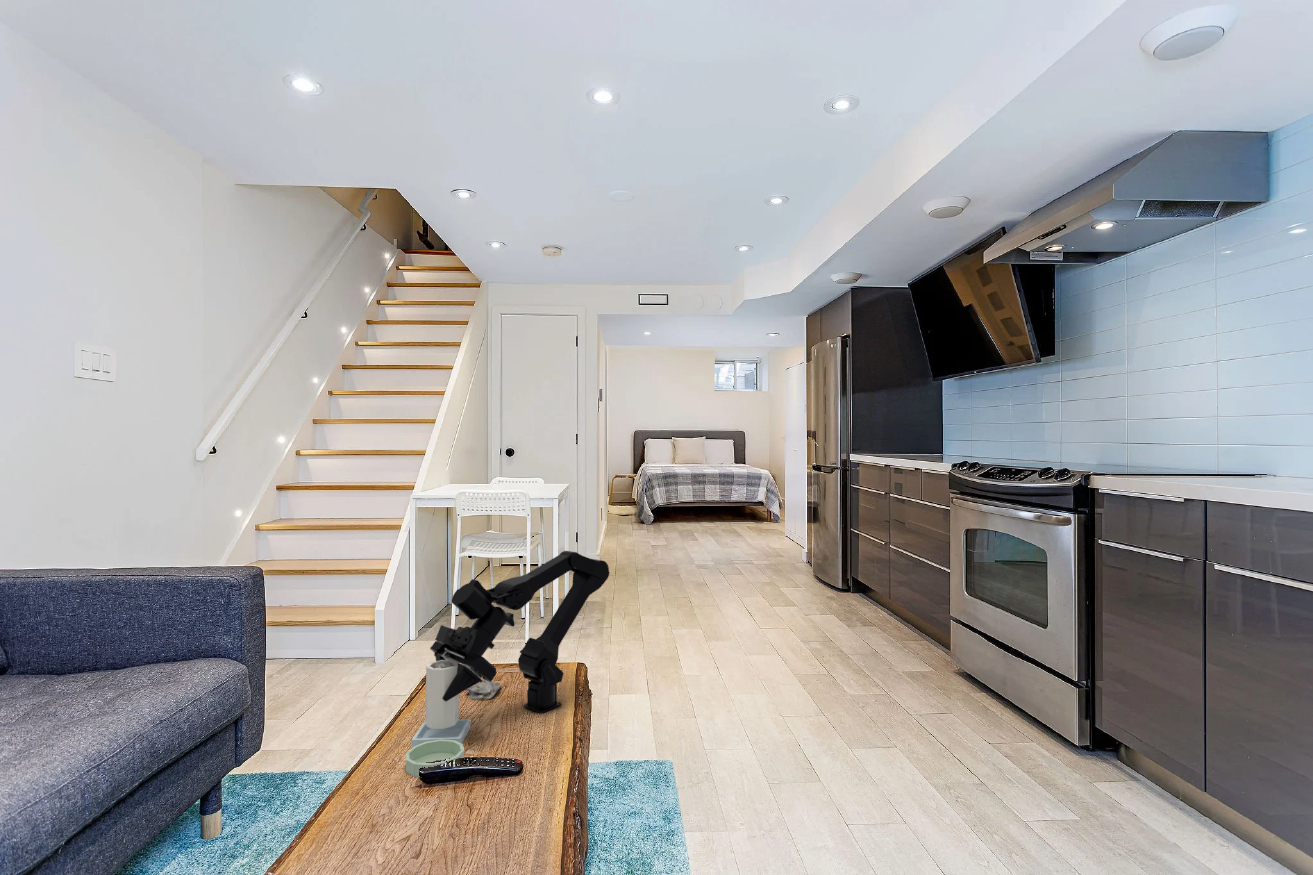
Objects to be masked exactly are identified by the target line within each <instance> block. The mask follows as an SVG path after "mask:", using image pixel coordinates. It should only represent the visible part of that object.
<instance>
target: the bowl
mask: <svg viewBox="0 0 1313 875" xmlns="http://www.w3.org/2000/svg"><path fill="white" fill-rule="evenodd" d="M449 758H450V759H449ZM458 758H464V759H465V748H464V744H463V743H462V744H461V743H459V742H457V741H455V740H434V741H428V742H424V743H422V744H419V745H417V746H414V747H412V748H411V747H410V749H409V750H408V751H407V752H405V773H407V774H409V775H410V776H413V777H415V778H421V777H420V776H419V769H420V768H422V767H423V768H424V767H425V768H428V767H434V766H437V765H440V764H445V763H446V761H447V762H449V761H451V760H455V759H458ZM445 759H447V760H445ZM436 760H445V761H441V762H435V763H426V762H433V761H436Z"/></svg>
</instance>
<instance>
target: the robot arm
mask: <svg viewBox="0 0 1313 875" xmlns="http://www.w3.org/2000/svg"><path fill="white" fill-rule="evenodd" d="M568 572H573V574H572V585H571V587H570V589H569V591H568V592H567V593H566V595H565V596H564V598H563V600H562V601H561V603H560V605H559V606H558V608H557V609H556V611H555V613H554V615H553V616H552V617H551V619H550V621H549V622H548V624H547V626H546V627H545V629H544V630H543V632H542V634H541V635H540V636H538V637H537V638H533V637H529V638H528V639H527V640H526V643H525V644H524V647H523V648H522V649H521V650H520V651H519V653H520V654H519V657H518V661H517V662H518V668H519V670H520V672H522V675H523V678H524V679H525V680H529V681H528V682H527V683H528V684H527V685H528V688H527V691H526V697H527V698H526V699H527V700H526V702H527V703H524V704H523V707H524V708H525V709H528V710H531V711H534V712H536V713H540V714H544V713H546V712H548V711H551V710H553V709H555V708H556V709H557V708H558V707H560V706H562V702H560V701H558V689H557V688H558V684H559V683H561V682H562V681H563V676H564V672H563V671H562V669H561V668H559V667H558V666H557V662H558V659H559V651H560V650H559V648H560V645H561V643H562V642H563V640H564V638H565V636H566V635H567V633H568V632H569V630H570V628H571V626H572V625H573V623H574V622H575V620H576V618H577V617H578V616H579V613H580V612H581V611H582V609H583V606H584V605H585V603H586V601H588V598H589V597H590V596H591V595H592V594H594V593H595V592H596V591H598V590H600V589H601V588H602V586H604V584H605V583H606V582H607V581H608V578H609V576H610V568H609V564H608V563H607V562H606V561H605V560H602V559H596V558H590V557H587V556H584V555H582V554H580V553H579V552H577V551H570V550H564V551H561V552H560V553H559V554H558V555H557V556H555V557H554V558H552V559H550V560H548V561H546V562H545V563H543V564H541V565H540V566H538V567H536V568H534V569H533V570H531V571H530V572H529V571H528V573H526V574H523V575H520V576H519V575H518V576H515V577H509V578H508V579H505V580H501V581H500V582H498V583H497V584H496V585H495V586H494V587H492V588H488V589H486V588H485V587H484V586H483V585H482V583H481V582H480V581H479V580H477V579H472V578H471V580H470V581H469V582H467V583H465V584H463V585H462V586H461V587H460V588H457V589H456V590H455V592H453V593H454V594H453V595H452V598H451V603H452V604H453V605H454V606H455V607H456V608H457V609H458V610H459V611H460V612H461V613H462V614H463V615H464V616H466V617H467V618H468V619H469V620H473V621H474V620H475V621H474V622H473V624H472V625H471V626H464V627H462V626H458V627H457V628H452V627H449V626H445V625H442V624H441V625H440V627H439V629H438V632H437V634H436V637H435V642H434V643H433V644H432V645H431V647H430V651H432V652H433V653H434V654H433V656H434V657H435V662H436V661H440V660H454V661H456V662H459V663H458V667H457V674H456V676H455V678H454V679H453V681H452V683H451V684H450V686H449V687H448V689H447V691H446V692H445V694H444V696H443V698H442V699H443V700H444V701H448V700H450V699H451V698H453V697H455V696H456V695H458V694H459V695H460V694H462V693H463V692H464V691H467V690H466V689H468V688H470V687H471V686H473V685H475V684H477V683H479V682H480V683H481V682H482V680H481V679H484V680H486V681H488V682H491V681H492V682H493V680H494V678H495V677H496V675H497V668H496V666H494V665H493V664H492V663H491V662H489V660H487V659H486V658H485V657H484V654H485V653H486V651H487V650H488V649H491V650H492V649H494V647H495V644H494V643H493V642H494V641H495V639H496V637H497V636H498V634H499V633H500V632H501V630H502V629H503V628H504V626H505V625H506V626H508V627H509V626H510V627H515V620H514V615H515V614H514V613H511V612H506V611H505V610H504V609H503V608H505V609H508V610H514V611H518V610H521V609H522V608H524V607H525V606H526V605H527V604H528V603H530V602H531V600H533V598H534V595H535V594H536V593H537V592H538V591H539V590H540V589H542V588H544V587H546V586H547V585H549V584H550V583H552V582H554V581H556V580H557V579H559V578H560V577H562V576H563V575H565V574H566V573H568ZM494 604H495V605H497V606H494Z"/></svg>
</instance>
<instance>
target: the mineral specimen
mask: <svg viewBox="0 0 1313 875" xmlns="http://www.w3.org/2000/svg"><path fill="white" fill-rule="evenodd" d="M481 680H482V682H481V683H480V682H479V683H477V684H475V685H473V686H471V687H470V688H468V689H466V690H465V691H468V694H469V698H470V699H471V700H474V701H477V702H478V701H479V702H482V701H488V700H489V699H490V700H491V699H492V698H493V697H494V696H495V695H496V694H497V693H498V691H499V690H500V689H501V688H502V685H501V682H496V681H493V680H492V681H491V682H488V681H486V680H484V679H483V678H481Z"/></svg>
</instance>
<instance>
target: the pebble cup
mask: <svg viewBox="0 0 1313 875" xmlns="http://www.w3.org/2000/svg"><path fill="white" fill-rule="evenodd" d="M458 663H459V662H456V661H454V660H440V661H436V660H435V661H432V662H430V663H429V664H427V665H426V668H425V670H426V671H425V676H426V677H425V721H426V726H428V727H429V728H431V729H445V728H448V727H451V726H454V725H456V723H457V722H458V720H460V711H459V710H460V693H459V694H458V695H456V696H455V697H453V698H451V699H450V700H448V701H444V700H443V699H442V698H443V696H444V694H445V692H446V691H447V689H448V687H449V686H450V684H451V683H452V681H453V679H454V678H455V676H456V674H457V667H458Z"/></svg>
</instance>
